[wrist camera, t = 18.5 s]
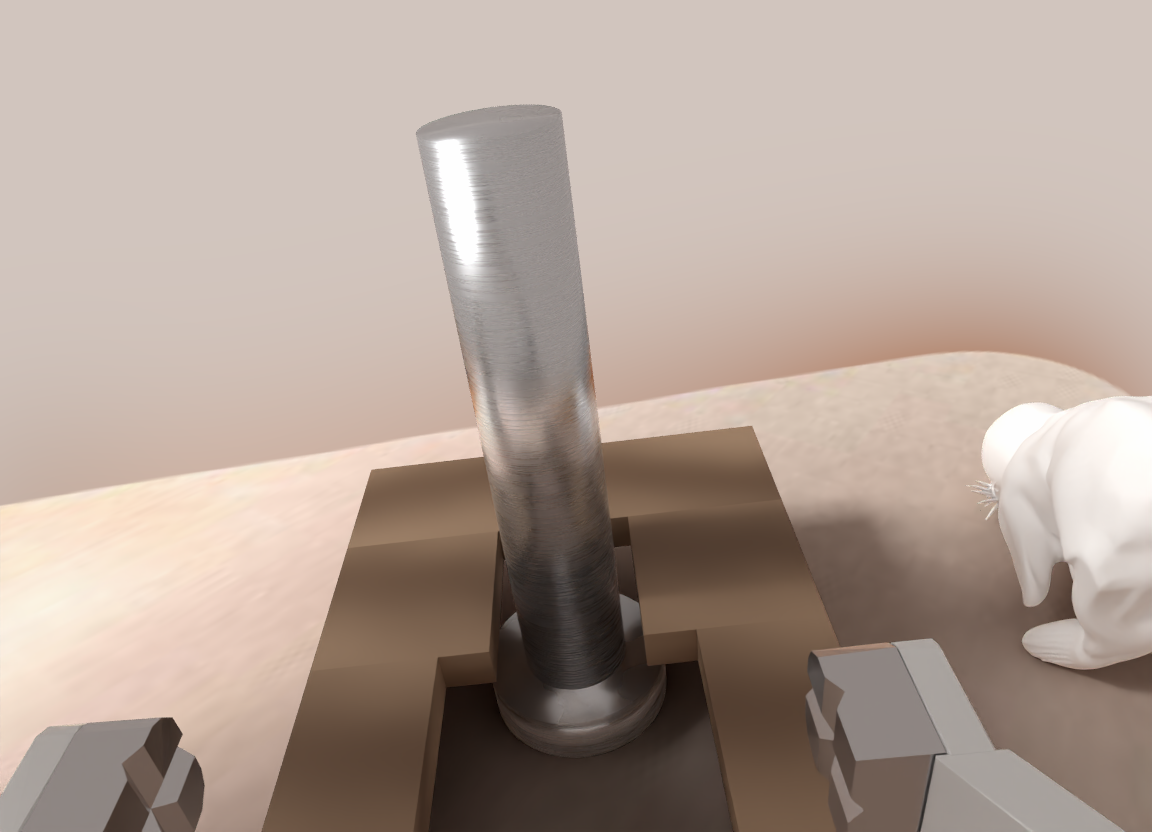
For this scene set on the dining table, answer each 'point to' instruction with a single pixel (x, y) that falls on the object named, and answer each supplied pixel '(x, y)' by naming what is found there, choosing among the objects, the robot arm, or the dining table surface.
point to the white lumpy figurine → (1078, 521)
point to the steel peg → (538, 429)
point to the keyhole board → (472, 622)
